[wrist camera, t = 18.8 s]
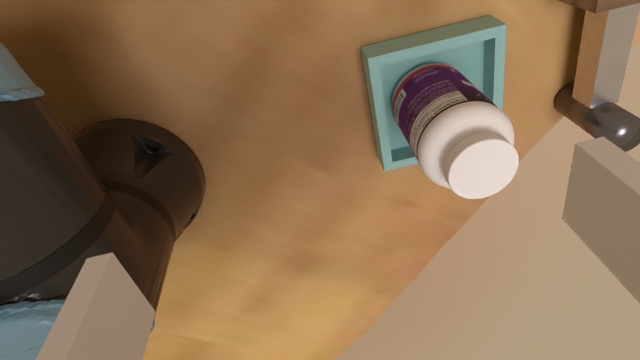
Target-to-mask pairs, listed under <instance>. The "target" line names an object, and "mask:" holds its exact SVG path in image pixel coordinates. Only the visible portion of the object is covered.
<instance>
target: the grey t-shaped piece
mask: <svg viewBox="0 0 640 360" xmlns="http://www.w3.org/2000/svg"><path fill="white" fill-rule="evenodd" d="M639 9H640V3H637V4H633V5H629V6H625V7H621V8H616V9H612V10H608V11H604V12H600V13H596V14H595V13H592V12H590V11H587V10H586V12H585V18H584V24H583V31H582V37H581V44H580V50H579V56H578V63H577V69H576V75H575V82H574V84H570V85H568V86H566V87H565V88H563V89H562V90H561V91H560V92H559V94H558V95H557V97H556V100H555V108H556V109H557V110H558V111H559V112H560V113H561V114H563V115H564V116H566V117H567V118H568V119H570V120H571V121H572V122H574V123H575V124H576V125H578V126H580V127H581V128H582V129H583V130H585V131H586V132H587V133H589V134H590V135H592V136H593V137H594V138H595V139H596V138H600V137H605V138H606V139H608V140H609V141H610V142H612V143H613V144H615V145H616V146H617V147H619V148H620V149H622V150H623V151H624V152H626V151H629V150H631V149H633V148H634V147H636V146H637V145H638V144H639V143H640V118H638V117H636V116H635V115H633V114H631V113H630V112H628V111H626V110H625V109H623V108H621V107H620V106H618V105H616V104H615V103H617V102H618V100H619V96H620V91H621V87H622V82H623V78H624V74H625V70H626V65H627V61H628V56H629V52H630V48H631V43H632V39H633V35H634V30H635V26H636V22H637V17H638V13H639Z"/></svg>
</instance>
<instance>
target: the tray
mask: <svg viewBox="0 0 640 360" xmlns="http://www.w3.org/2000/svg"><path fill="white" fill-rule="evenodd" d="M506 27H507V24H505V23H503V22H501V21H500V20H498V19H496V18H494V17H492V16H490V15H487V16H483V17H479V18H475V19H471V20H467V21H463V22H459V23H455V24H451V25H447V26H443V27H439V28H435V29H431V30H427V31H423V32H419V33H415V34H411V35H407V36H403V37H399V38H395V39H391V40H387V41H383V42H379V43H375V44H371V45H367V46H363V47H361V53H362V60H363V66H364V72H365V79H366V85H367V91H368V98H369V104H370V110H371V117H372V123H373V130H374V136H375V142H376V149H377V155H378V157H379V160H380V162H381V164H382V167H383V169H384V171H390V170H394V169H398V168H402V167H406V166H411V165H415V164H419V163H418V161H417V159H416V157H415V155H414V154H413V152H412V150H411V148H410V146H409V145H408V143H407V141H406V139H405V137H404V136H403V134H402V132H401V131H400V129H399V127H398V126H397V124H396V122H395V120H394V118H393V115H392V110H391V102H392V96H393V93H394V91H395V88H396V87H397V85H398V83H399V82H400V81H401V79H402V78H403V77H404V76H405V75H407V74H408V73H409V72H410V71H412V70H413V69H415V68H417V67H419V66H422V65H425V64H429V63H442V64H446V65H449V66H451V67H453V68H455V69H456V70H458V71H459V72H460V73H461V74H462V75H463V76H464V77H466V78H467V79H468V80H469V81H470V82H471V83H472V84H473V85H474V86H475V87H476V88H478V89H479V90H480V91H481V92H482V93H483V94H484V95H485V96H486V97H487V98H488V99H489V100H491V101H492V102H493V103H494V104H495V105H496V106H497V107H498V108H499V109H500V110H501V111H502V107H503V87H504V67H505V47H506Z"/></svg>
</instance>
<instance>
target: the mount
mask: <svg viewBox="0 0 640 360" xmlns="http://www.w3.org/2000/svg"><path fill="white" fill-rule="evenodd" d="M558 1H561V2H564V3H567V4H570V5H573V6H575V7H578V8H581V9H584V10H587V11H590V12H592V13H595V14H596V13H600V12H604V11H608V10H612V9H616V8H621V7H625V6H629V5H633V4H637V3H640V0H558Z"/></svg>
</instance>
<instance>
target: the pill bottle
mask: <svg viewBox="0 0 640 360" xmlns="http://www.w3.org/2000/svg"><path fill="white" fill-rule="evenodd" d="M391 110H392V115H393V118H394V120H395V122H396V124H397V126H398V127H399V129H400V131H401V132H402V134H403V136H404V137H405V139H406V141H407V143H408V145H409V146H410V148H411V150H412V152H413V154H414V155H415V157H416V159H417V161H418V163H419V164H420V166H421V168H422V170H423V172H424V173H425V174H426V176H427V177H428V178H429V179H430V180H431V181H433V182H434V183H436V184H438V185H440V186H443V187H446V188H451V189H452V190H453V191H454V192H455V193H456V194H457V195H459V196H461V197H464V198H468V199H480V198H485V197H488V196H491V195H493V194H495V193H497V192H498V191H500V190H501V189H503V188H504V187H505V186H506V185H507V184H508V183H509V182H510V181H511V180H512V178H513V176H514V175H515V173H516V171H517V168H518V163H519V160H518V154H517V151H516V150H515V148H514V147H513V146H514V130H513V126H512V124H511V122H510V120H509V118H508V117H507V116H506V114H505V113H504V112H503V111H501V110H500V109H499V108H498V107H497V106H496V105H495V104H494V103H493V102H492V101H491V100H489V99H488V98H487V97H486V96H485V95H484V94H483V93H482V92H481V91H480V90H479V89H478V88H476V87H475V86H474V85H473V84H472V83H471V82H470V81H469V80H468V79H467V78H466V77H464V76H463V75H462V74H461V73H460V72H459V71H458V70H456V69H455V68H453V67H451V66H449V65H446V64H442V63H429V64H425V65H422V66H419V67H417V68H415V69H413V70H412V71H410V72H409V73H408V74H407V75H405V76H404V77H403V78H402V79H401V81H400V82H399V83H398V85H397V87H396V88H395V91H394V93H393V96H392V102H391Z"/></svg>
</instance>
